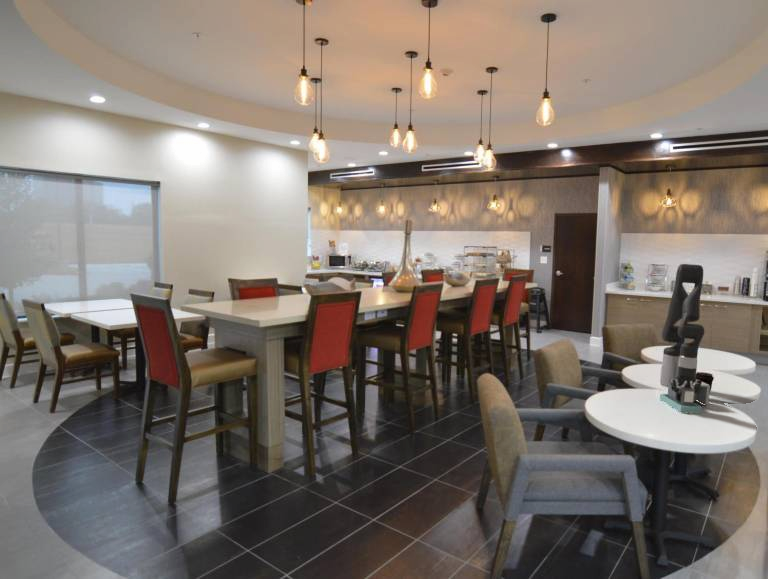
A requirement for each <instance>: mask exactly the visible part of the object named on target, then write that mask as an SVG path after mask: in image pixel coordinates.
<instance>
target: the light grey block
mask: <svg viewBox="0 0 768 579" xmlns="http://www.w3.org/2000/svg"><path fill="white" fill-rule="evenodd" d="M694 385H695V383H694V384H693V387H694ZM709 391H710V385H708V384H706V383H704V382H702V383H701V386H700V389H699V392H698V393H695V394H694V400H698V401H699V402H701V403H703V404H705V405H708V406H709V400H710V394H709ZM710 392H711V391H710ZM699 402H698V403H699ZM701 403H700V404H701Z"/></svg>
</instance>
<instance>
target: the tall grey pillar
mask: <svg viewBox="0 0 768 579" xmlns="http://www.w3.org/2000/svg"><path fill="white" fill-rule="evenodd" d="M677 385H678V381H677V383H676V387H677ZM680 387H681V386H680ZM667 394H668V396H667V397H668V398H670V399H672V400H673V401H675V402H677V403H679V404H680V405H682V406H693V404H694V403H695V401H694V394H695V389H693V388H690V387H684V388H682V389H681V393H680V394H681V397H680V401H677V400H676V398H675V396H676V392H674V391H672V388H671V381H669V385H668V388H667Z"/></svg>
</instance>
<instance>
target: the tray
mask: <svg viewBox="0 0 768 579" xmlns="http://www.w3.org/2000/svg"><path fill="white" fill-rule="evenodd" d="M659 394H660V395H659V400H660V399H661V400H662V401H664V402H666V403H667V404H669V405H670V406H672V407H673V408H672V407H671V408H672V409H674V408H675V409H676V411H677V410H678V411H677V412H679V413H680V412H692V413H691V414H702V406H700V405H699V404H697V403H695V402H694V404H693V406H682V405H680V404H679V403H677V402H675V401H673V400H672V399H670V398H668V397H667V396H668V393H659ZM661 400H660V401H661ZM662 401H661V402H662ZM664 402H663V403H664ZM667 404H666V405H667ZM669 405H668V406H669ZM670 406H669V407H670ZM675 409H674V410H675Z"/></svg>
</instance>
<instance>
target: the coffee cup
mask: <svg viewBox="0 0 768 579" xmlns="http://www.w3.org/2000/svg"><path fill="white" fill-rule="evenodd" d="M713 375H714V374H712V373H710V372H704V371H702V372H701V371H700V372H698V371H696V377H695V379H696V380H697V379H698V380H700V381H702V382H704V383H706V384H708V385H710V391H709V395H710V394H711V390H712V386H713V381H714V379H715V377H714V376H713Z"/></svg>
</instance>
